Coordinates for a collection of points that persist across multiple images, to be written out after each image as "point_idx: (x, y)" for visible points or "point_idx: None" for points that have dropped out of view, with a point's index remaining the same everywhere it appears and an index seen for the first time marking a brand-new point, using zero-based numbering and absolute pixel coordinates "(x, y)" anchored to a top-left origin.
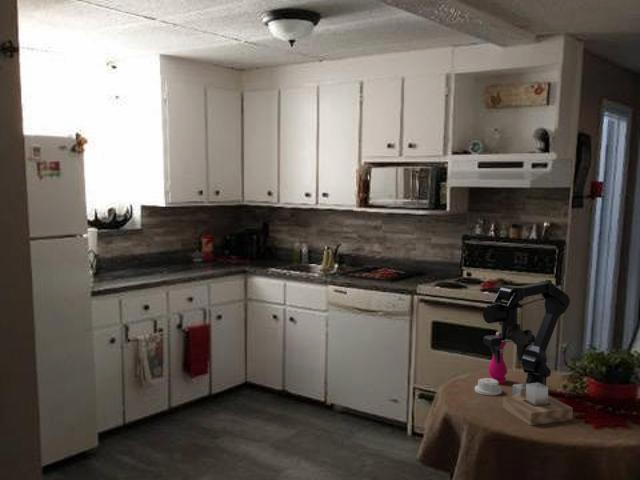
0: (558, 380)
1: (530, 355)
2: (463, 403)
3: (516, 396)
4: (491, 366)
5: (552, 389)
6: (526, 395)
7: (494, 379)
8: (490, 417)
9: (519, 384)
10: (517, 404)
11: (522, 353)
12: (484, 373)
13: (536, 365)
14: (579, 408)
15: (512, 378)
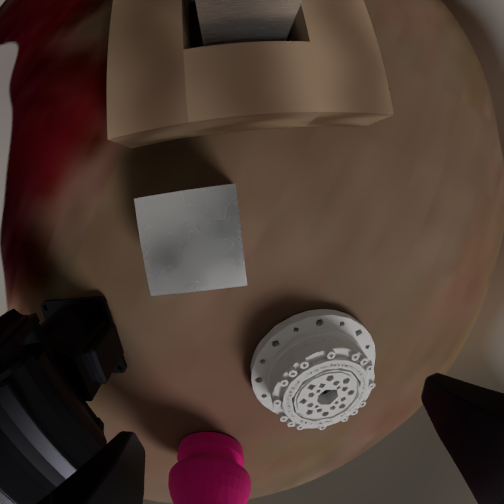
0: None
1: (21, 462)
2: (468, 233)
3: (313, 98)
4: (245, 497)
5: None
6: (296, 7)
7: (234, 449)
8: (435, 68)
9: (194, 282)
10: (358, 9)
11: (76, 493)
12: None
13: (11, 362)
14: (30, 88)
15: None
